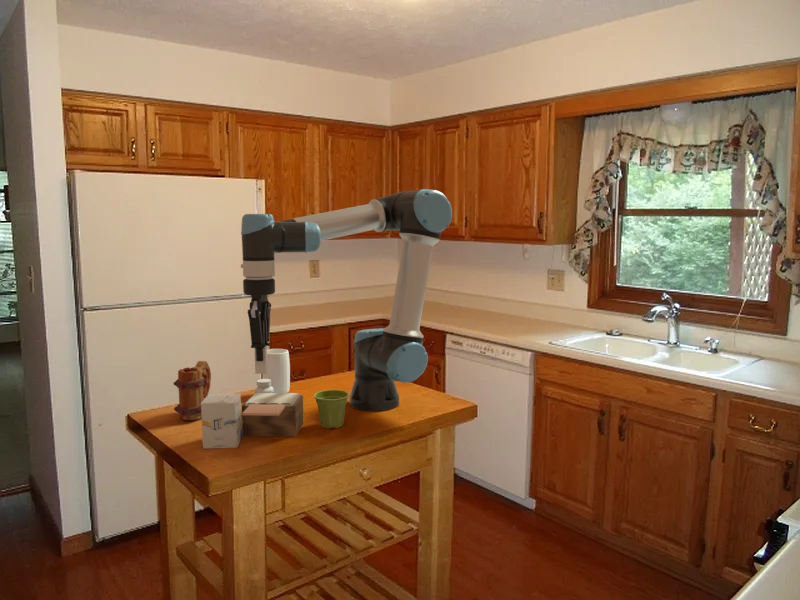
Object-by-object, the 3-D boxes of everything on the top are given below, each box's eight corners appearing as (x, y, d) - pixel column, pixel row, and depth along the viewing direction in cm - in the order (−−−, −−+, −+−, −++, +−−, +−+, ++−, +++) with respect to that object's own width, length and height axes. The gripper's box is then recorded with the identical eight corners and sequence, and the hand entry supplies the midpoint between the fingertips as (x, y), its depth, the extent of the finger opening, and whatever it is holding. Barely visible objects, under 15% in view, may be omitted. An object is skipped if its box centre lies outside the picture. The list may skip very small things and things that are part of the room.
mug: (196, 424, 169) (194, 371, 167) (169, 422, 170) (166, 369, 168) (222, 408, 183) (220, 359, 181) (197, 407, 184) (194, 358, 182)
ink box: (209, 437, 159) (207, 393, 158) (243, 436, 160) (241, 392, 158) (201, 449, 151) (199, 402, 149) (237, 448, 151) (235, 402, 150)
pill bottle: (264, 409, 182) (263, 377, 181) (278, 411, 180) (277, 379, 179) (251, 414, 178) (250, 381, 176) (265, 417, 175) (264, 383, 174)
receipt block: (303, 423, 169) (302, 392, 168) (296, 436, 159) (295, 403, 158) (253, 423, 170) (252, 392, 169) (242, 435, 160) (241, 403, 159)
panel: (285, 407, 158) (285, 404, 158) (278, 415, 151) (278, 413, 151) (250, 406, 158) (250, 404, 158) (242, 415, 151) (242, 412, 151)
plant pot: (335, 433, 162) (334, 401, 160) (307, 427, 167) (306, 395, 165) (356, 423, 169) (355, 392, 168) (329, 417, 174) (328, 387, 173)
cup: (287, 398, 193) (286, 354, 192) (261, 398, 193) (259, 354, 192) (292, 390, 202) (291, 348, 200) (267, 390, 202) (265, 348, 200)
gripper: (251, 275, 156) (253, 366, 159) (235, 280, 143) (238, 379, 146) (280, 275, 155) (282, 366, 158) (267, 280, 143) (270, 379, 146)
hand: (261, 372), depth 152 cm, fingers closed
